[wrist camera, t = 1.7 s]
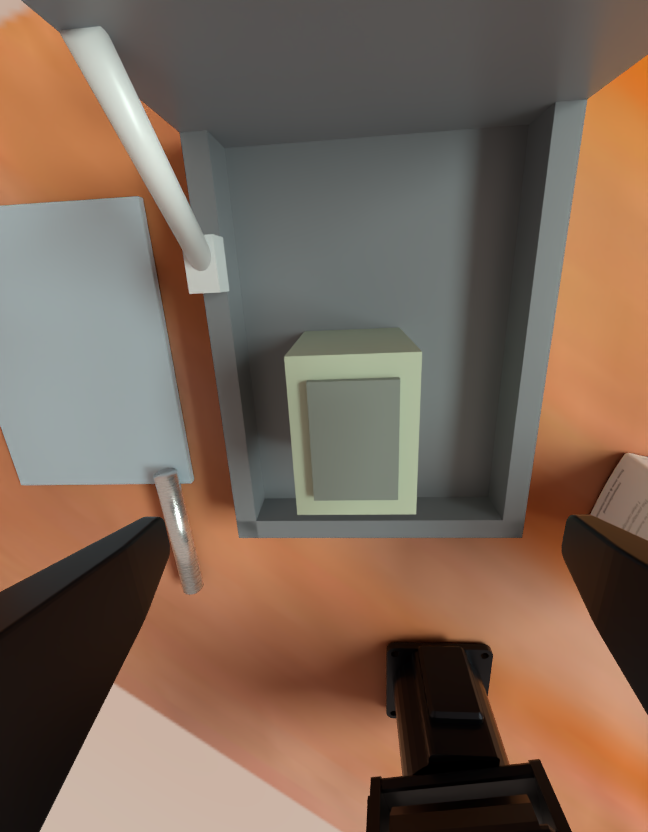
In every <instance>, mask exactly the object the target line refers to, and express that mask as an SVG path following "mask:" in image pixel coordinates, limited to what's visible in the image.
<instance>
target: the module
mask: <svg viewBox="0 0 648 832" xmlns="http://www.w3.org/2000/svg"><path fill="white" fill-rule="evenodd" d="M284 362H285V373H286V385H287V397H288V409H289V421H290V433H291V445H292V457H293V469H294V481H295V493H296V505H297V515H385V514H416V504H417V477H418V450H419V424H420V397H421V370H422V351H421V350H420V349H419V348H418V347H417V346H416V345H415V344H414V342H413V341H412V340H411V339H410V338H409V337H408V336H407V335H406V334H405V333H404V332H403V331H402V330H401V329H400V328H375V329H350V330H326V331H304V333H303V334H302V335H301V336H300V338H299V339H298V340H297V341H296V343H295V344H294V345H293V346H292V348H291V349H290V350H289V351H288V352H287V354H286V355H285V356H284Z"/></svg>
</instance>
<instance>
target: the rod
mask: <svg viewBox="0 0 648 832" xmlns="http://www.w3.org/2000/svg"><path fill="white" fill-rule="evenodd" d="M153 477H154V481H155V485H156V489H157V493H158V497H159V500H160V504H161V508H162V512H163V516H164V519H165V523H166V527H167V531H168V535H169V539H170V542H171V546H172V550H173V554H174V558H175V562H176V565H177V569H178V573H179V577H180V581H181V585H182V588H183V592H184V593H185V594H189V595H190V594H195V593H197V592H199V591H200V590H201V589H202V587H203V580H202V575H201V571H200V567H199V562H198V558H197V554H196V549H195V545H194V541H193V536H192V532H191V528H190V523H189V519H188V515H187V511H186V506H185V502H184V498H183V493H182V489H181V485H180V480H179V476H178V472H177V469H175V468H165V469H161V470H159V471H157V472H156V473H155V474H154V475H153Z"/></svg>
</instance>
